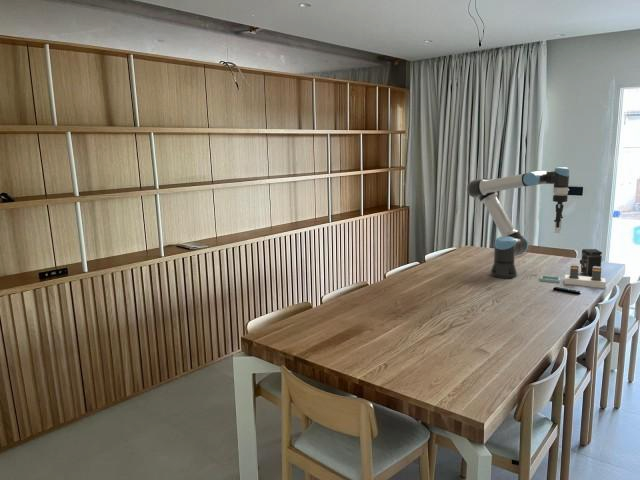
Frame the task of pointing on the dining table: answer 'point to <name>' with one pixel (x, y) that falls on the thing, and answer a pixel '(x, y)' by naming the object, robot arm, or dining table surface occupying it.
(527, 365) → the dining table surface
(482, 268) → the dining table surface
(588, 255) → the camera
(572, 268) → the plug
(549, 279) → the tray
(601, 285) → the battery charger
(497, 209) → the robot arm
